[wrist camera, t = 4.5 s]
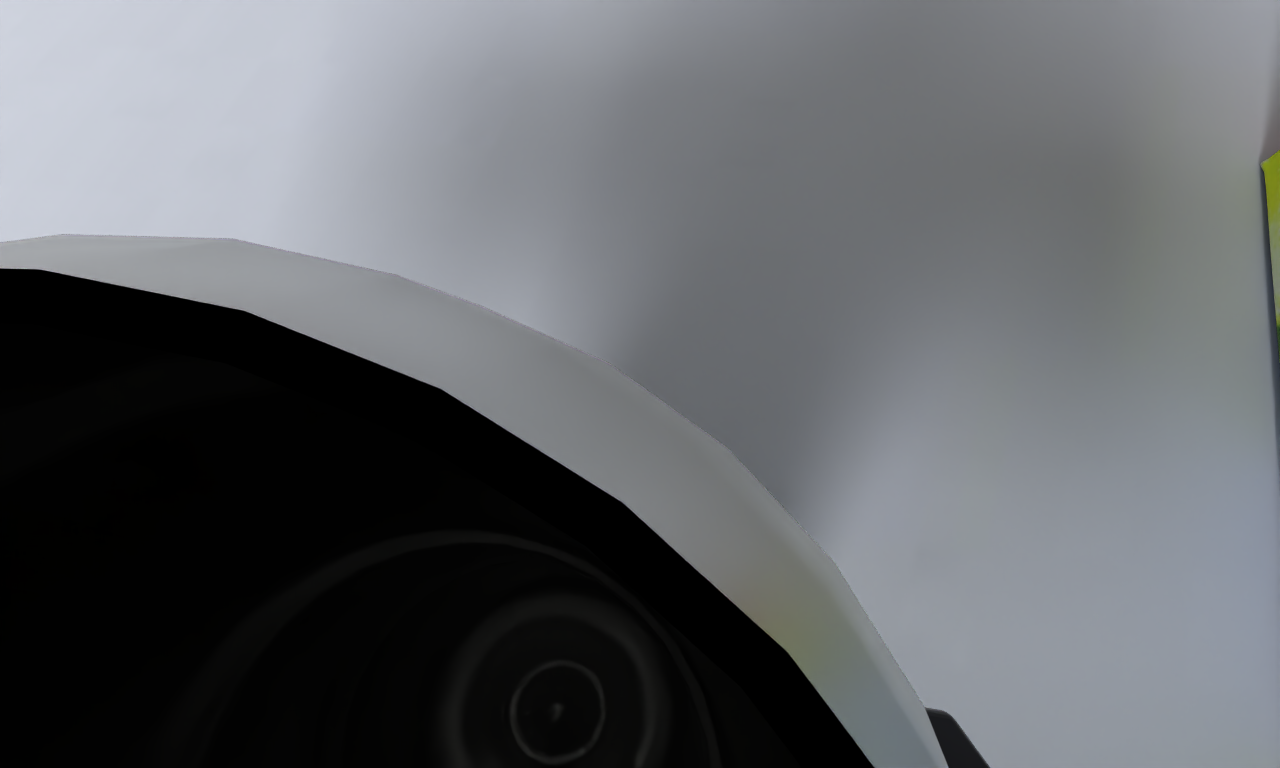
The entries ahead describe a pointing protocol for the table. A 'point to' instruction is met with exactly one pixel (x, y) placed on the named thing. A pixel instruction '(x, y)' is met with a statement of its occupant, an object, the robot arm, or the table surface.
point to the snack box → (1274, 226)
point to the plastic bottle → (387, 539)
